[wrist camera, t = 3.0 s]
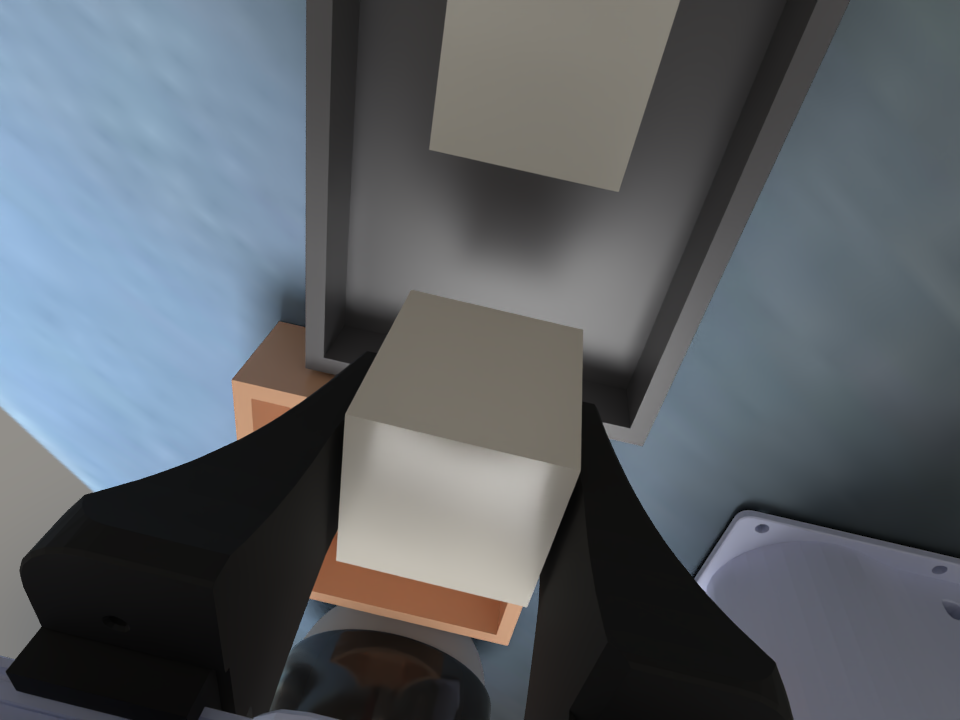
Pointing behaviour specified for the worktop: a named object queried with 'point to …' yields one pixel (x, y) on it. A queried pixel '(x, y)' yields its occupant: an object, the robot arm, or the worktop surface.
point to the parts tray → (544, 192)
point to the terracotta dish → (259, 400)
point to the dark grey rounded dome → (382, 671)
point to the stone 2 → (462, 448)
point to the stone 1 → (549, 83)
